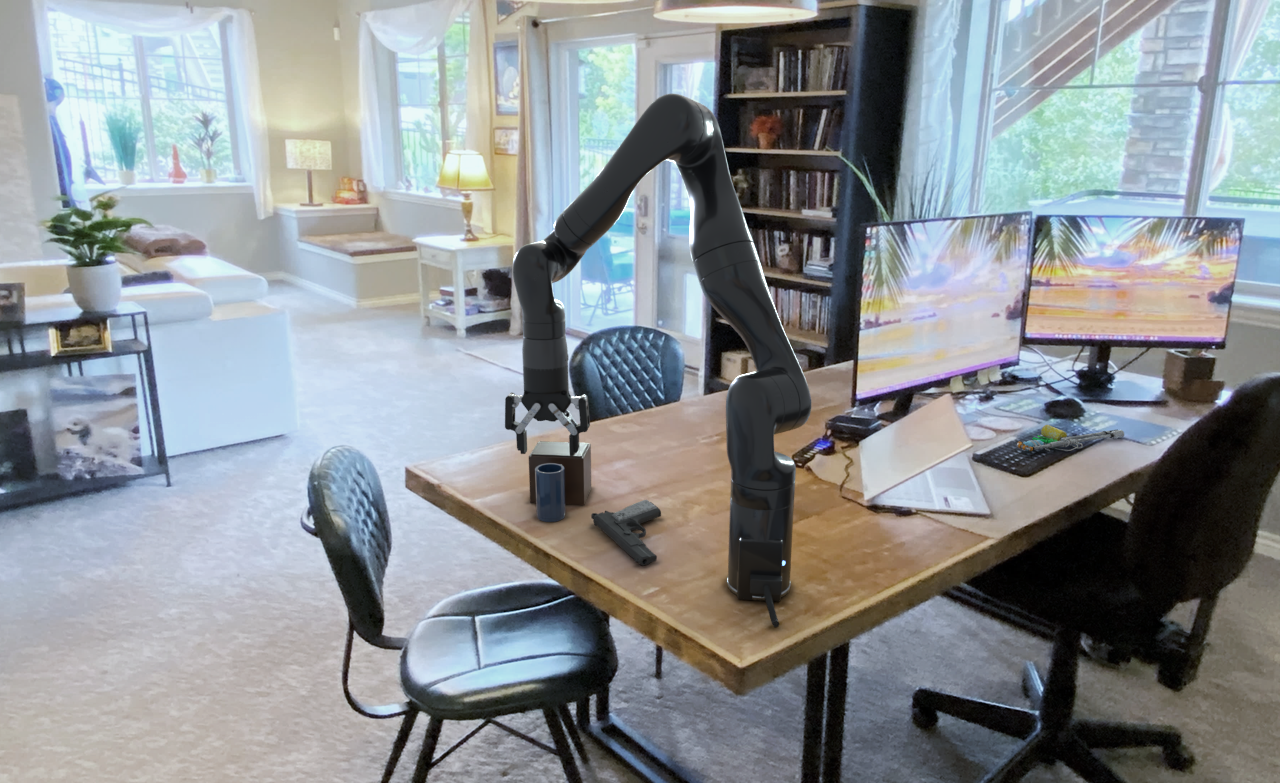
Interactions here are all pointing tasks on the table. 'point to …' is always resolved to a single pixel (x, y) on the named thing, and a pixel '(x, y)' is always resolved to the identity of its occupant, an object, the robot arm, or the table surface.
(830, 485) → the table surface
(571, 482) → the dark brown box
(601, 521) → the handgun
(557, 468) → the pen cup
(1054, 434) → the flamethrower
